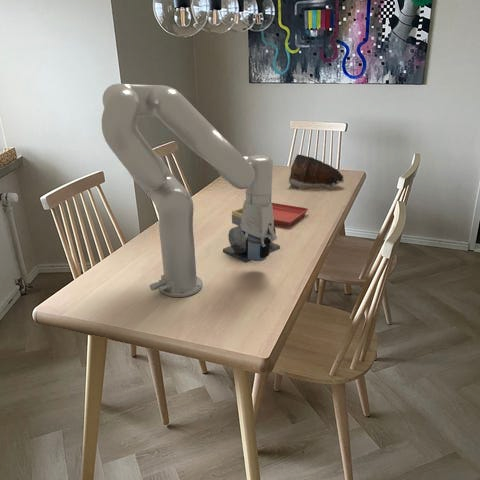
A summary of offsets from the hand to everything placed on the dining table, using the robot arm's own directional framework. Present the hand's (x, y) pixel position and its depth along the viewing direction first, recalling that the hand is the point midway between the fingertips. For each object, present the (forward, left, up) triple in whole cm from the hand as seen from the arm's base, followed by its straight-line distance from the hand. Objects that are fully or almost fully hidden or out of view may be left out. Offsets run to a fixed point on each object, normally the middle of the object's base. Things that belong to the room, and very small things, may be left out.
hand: (257, 253), depth 147 cm
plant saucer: (+39, +29, -7) cm, 49 cm away
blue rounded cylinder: (0, 0, -1) cm, 1 cm away
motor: (+10, +14, -7) cm, 18 cm away
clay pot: (+82, +46, -7) cm, 94 cm away
